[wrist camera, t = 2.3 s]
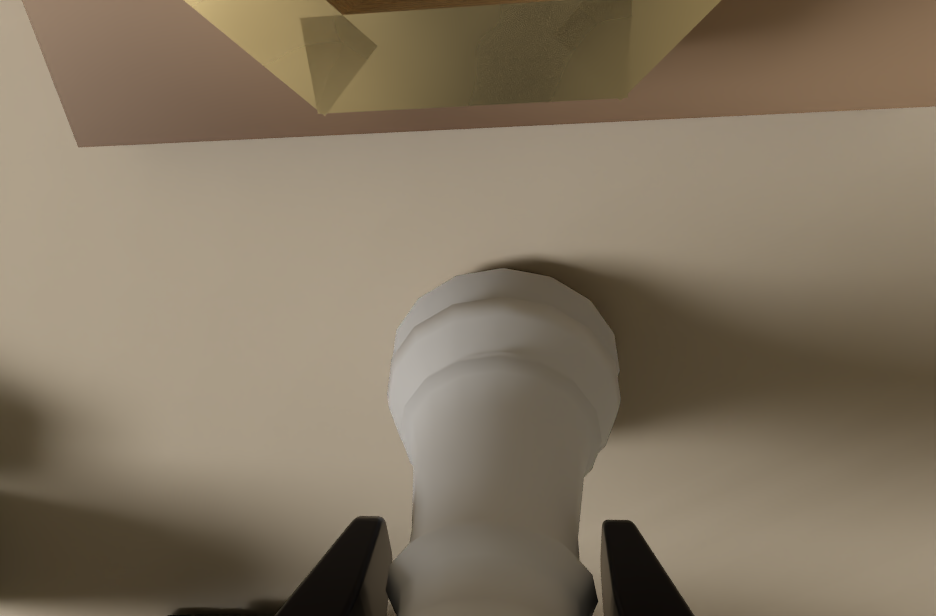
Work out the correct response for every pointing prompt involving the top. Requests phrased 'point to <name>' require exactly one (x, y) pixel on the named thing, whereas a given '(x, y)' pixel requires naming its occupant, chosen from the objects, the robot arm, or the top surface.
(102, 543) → the top surface
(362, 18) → the wooden collar
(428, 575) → the rook chess piece
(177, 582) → the top surface
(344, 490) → the top surface
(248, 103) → the walnut board
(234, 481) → the top surface
